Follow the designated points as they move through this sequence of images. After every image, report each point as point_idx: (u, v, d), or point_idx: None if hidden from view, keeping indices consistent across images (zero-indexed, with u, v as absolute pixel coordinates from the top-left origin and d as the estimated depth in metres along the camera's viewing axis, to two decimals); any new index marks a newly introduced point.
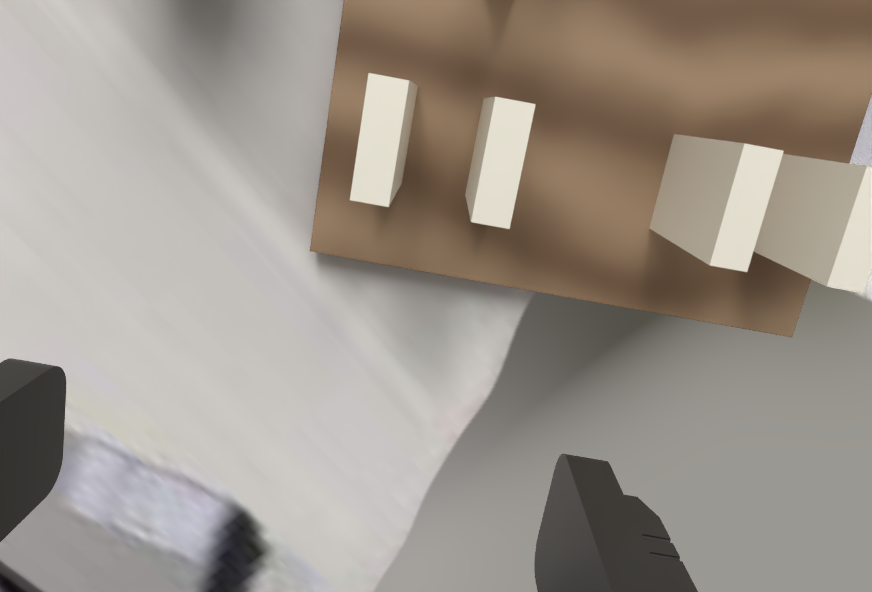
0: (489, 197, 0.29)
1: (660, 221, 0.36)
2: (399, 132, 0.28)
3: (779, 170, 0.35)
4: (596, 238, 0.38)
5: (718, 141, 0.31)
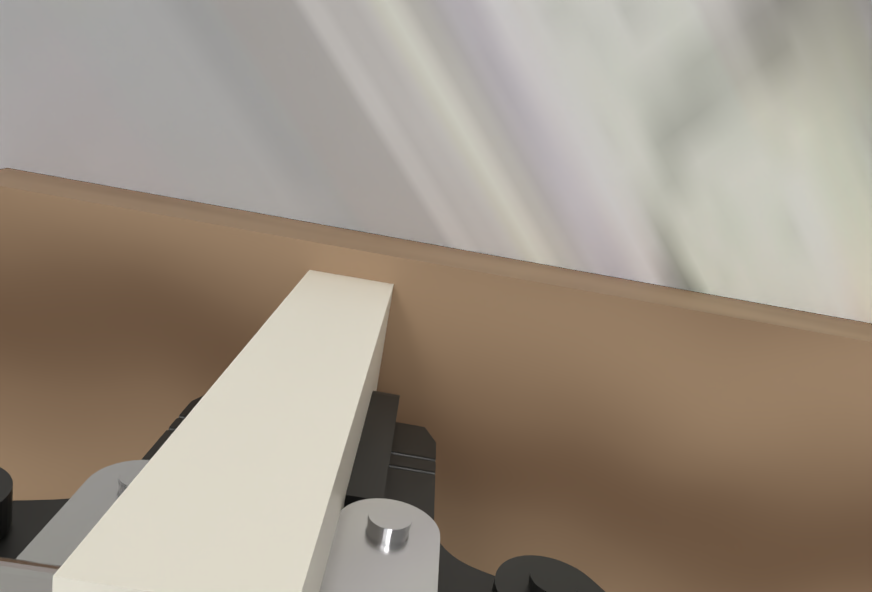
0: None
1: None
2: None
3: None
4: None
5: None
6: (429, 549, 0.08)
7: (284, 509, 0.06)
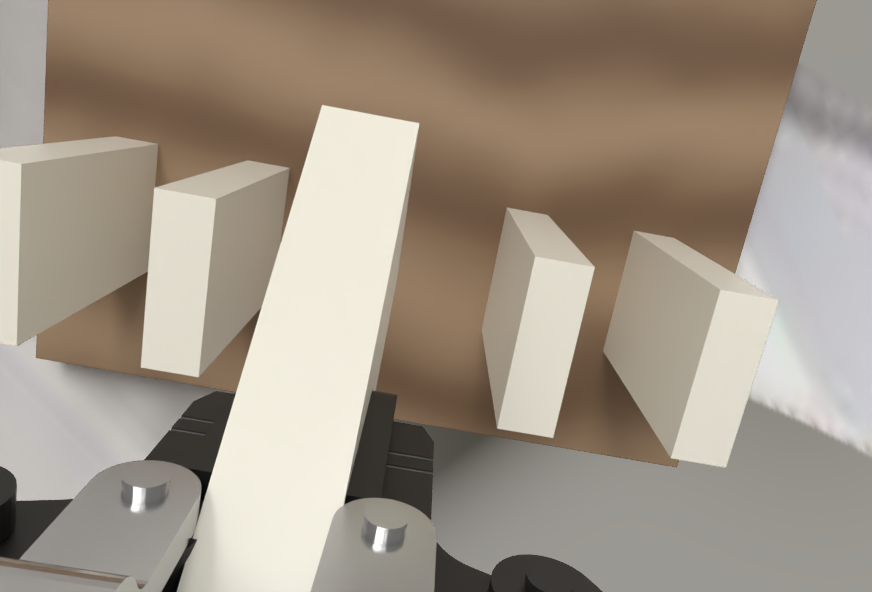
0: (163, 332, 0.19)
1: (486, 326, 0.27)
2: (18, 239, 0.19)
3: (641, 261, 0.26)
4: (412, 342, 0.29)
5: (523, 239, 0.21)
6: (425, 548, 0.08)
7: None
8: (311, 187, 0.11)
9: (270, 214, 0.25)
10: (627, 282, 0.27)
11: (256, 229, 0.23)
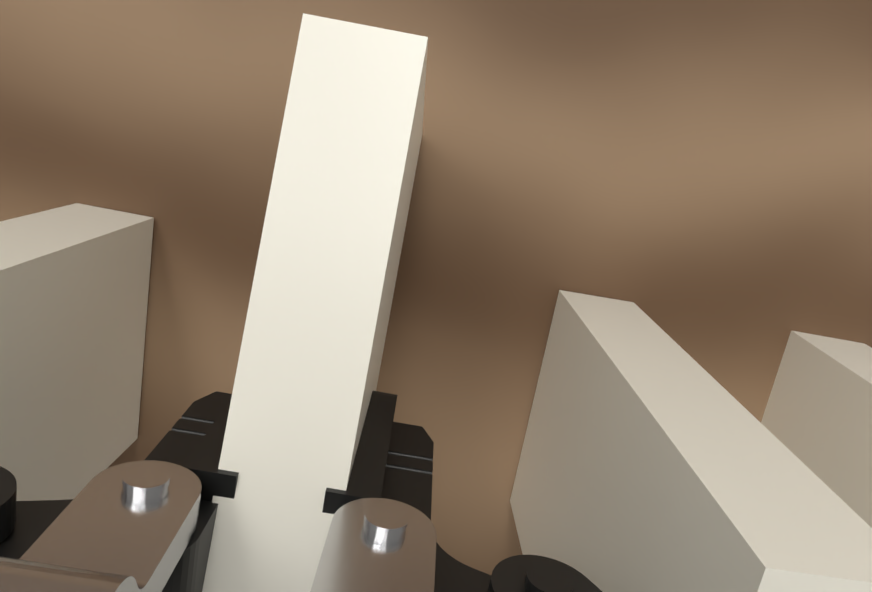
0: None
1: (525, 514, 0.14)
2: None
3: (824, 401, 0.13)
4: None
5: (658, 429, 0.09)
6: (425, 548, 0.08)
7: None
8: (294, 146, 0.09)
9: (89, 317, 0.13)
10: (783, 428, 0.15)
11: (25, 365, 0.11)
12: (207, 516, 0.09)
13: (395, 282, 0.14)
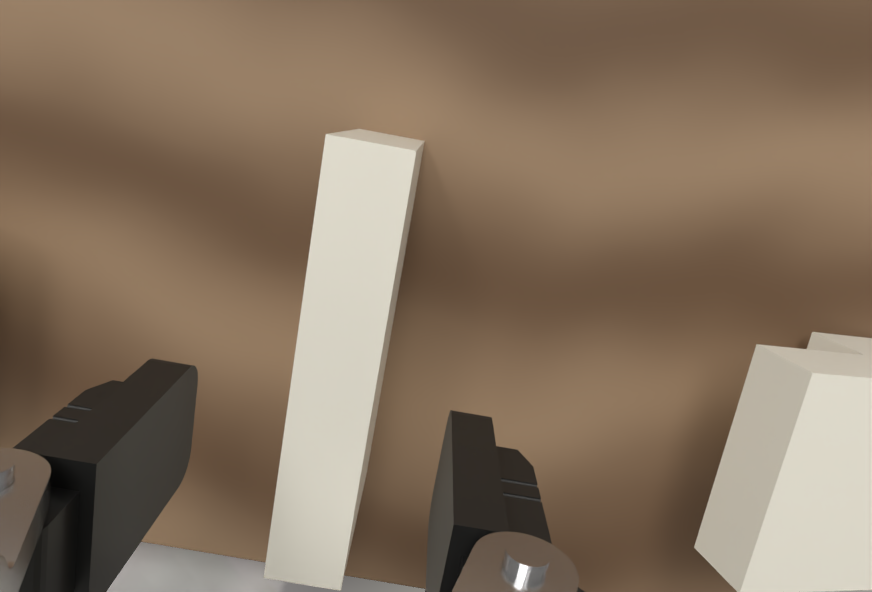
0: None
1: (805, 567, 0.15)
2: None
3: None
4: (394, 470, 0.19)
5: None
6: None
7: (333, 538, 0.14)
8: (323, 230, 0.13)
9: None
10: None
11: None
12: (62, 505, 0.08)
13: None
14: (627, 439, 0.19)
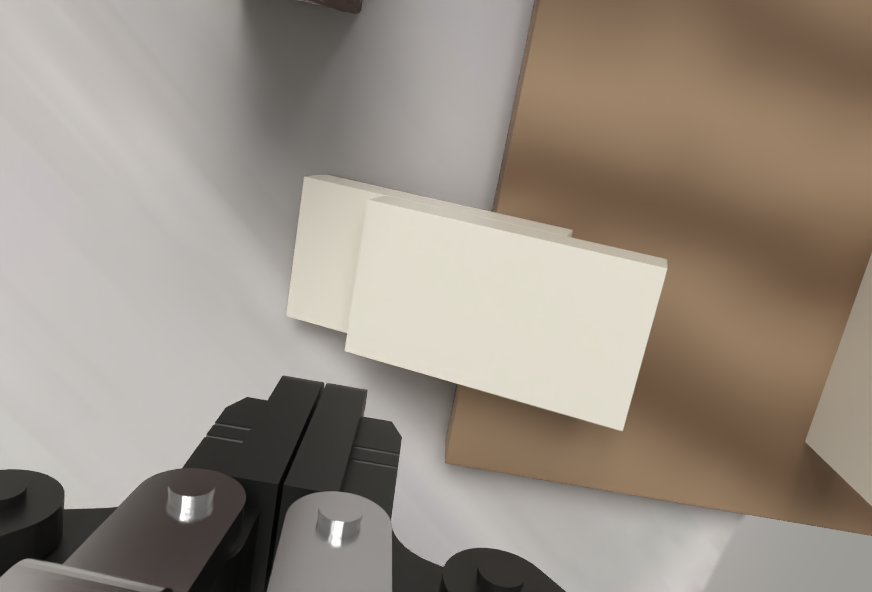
0: None
1: None
2: (298, 234, 0.25)
3: None
4: None
5: None
6: (381, 539, 0.08)
7: None
8: None
9: (571, 297, 0.21)
10: None
11: (509, 289, 0.21)
12: (249, 524, 0.09)
13: None
14: None
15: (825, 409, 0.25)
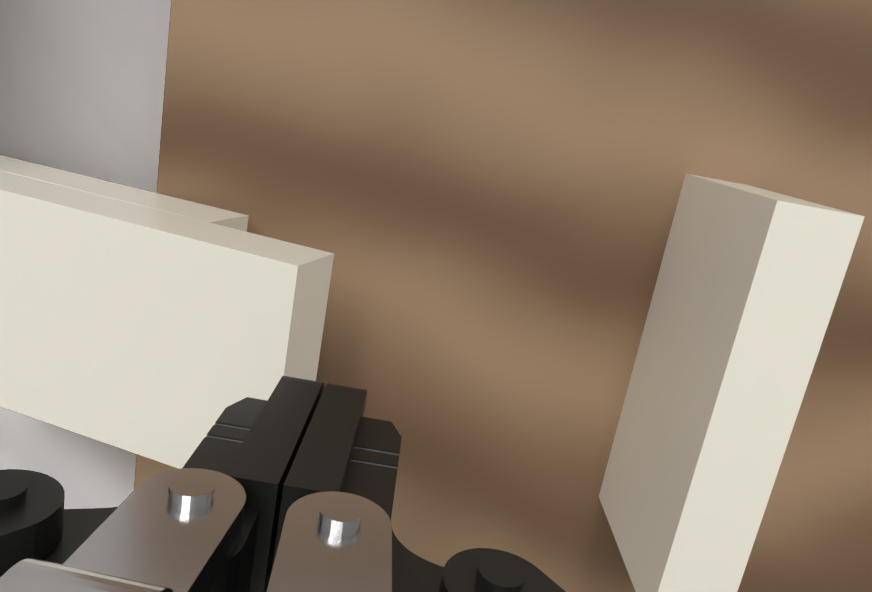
0: None
1: None
2: None
3: None
4: None
5: None
6: (381, 539, 0.08)
7: (722, 586, 0.15)
8: (760, 292, 0.13)
9: (184, 308, 0.14)
10: None
11: (108, 296, 0.15)
12: (249, 524, 0.09)
13: None
14: None
15: (616, 456, 0.19)
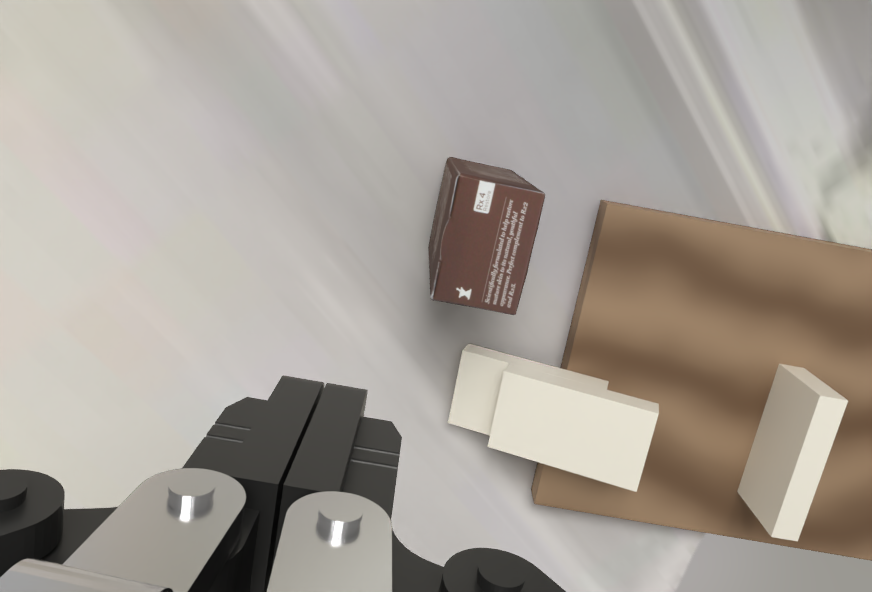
0: None
1: None
2: (457, 379, 0.45)
3: None
4: None
5: None
6: (381, 539, 0.08)
7: (798, 523, 0.41)
8: (814, 423, 0.40)
9: (610, 425, 0.41)
10: None
11: (578, 419, 0.41)
12: (250, 524, 0.09)
13: None
14: None
15: (747, 474, 0.45)
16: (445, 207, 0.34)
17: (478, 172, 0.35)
